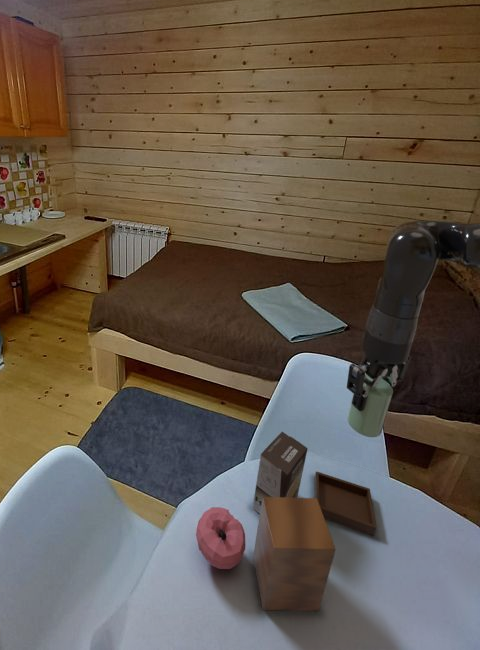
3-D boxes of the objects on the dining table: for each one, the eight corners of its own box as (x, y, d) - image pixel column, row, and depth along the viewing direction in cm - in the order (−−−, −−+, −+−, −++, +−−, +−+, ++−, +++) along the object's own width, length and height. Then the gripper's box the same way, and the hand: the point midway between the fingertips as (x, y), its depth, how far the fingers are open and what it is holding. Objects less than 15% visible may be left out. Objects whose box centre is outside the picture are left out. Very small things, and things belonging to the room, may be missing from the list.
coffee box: (277, 530, 72) (287, 476, 67) (251, 507, 77) (259, 454, 71) (297, 499, 79) (308, 447, 73) (273, 480, 83) (281, 429, 78)
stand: (303, 557, 68) (316, 497, 62) (318, 611, 61) (335, 549, 55) (253, 556, 68) (262, 496, 62) (262, 610, 60) (274, 547, 55)
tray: (367, 496, 80) (369, 488, 79) (373, 536, 72) (376, 528, 71) (314, 478, 83) (315, 471, 83) (314, 514, 76) (316, 506, 75)
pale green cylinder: (361, 408, 73) (371, 370, 70) (388, 431, 68) (400, 391, 65) (340, 417, 71) (349, 378, 68) (366, 441, 66) (377, 400, 62)
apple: (251, 561, 67) (256, 527, 64) (222, 599, 62) (226, 564, 58) (215, 521, 74) (218, 488, 71) (186, 551, 69) (187, 517, 65)
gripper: (380, 351, 56) (360, 429, 62) (435, 333, 62) (412, 406, 67) (343, 327, 63) (328, 399, 68) (396, 313, 68) (378, 381, 74)
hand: (370, 402), depth 68 cm, fingers closed on pale green cylinder, 6 cm apart
